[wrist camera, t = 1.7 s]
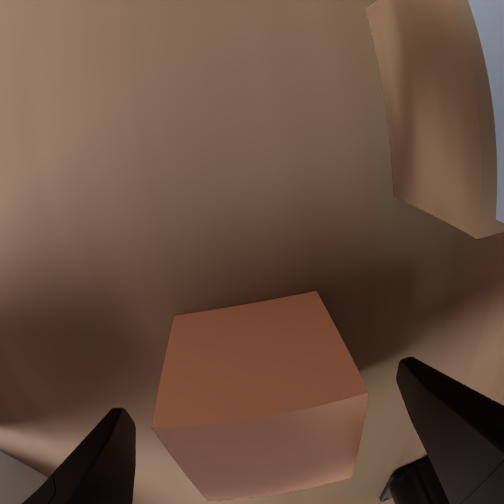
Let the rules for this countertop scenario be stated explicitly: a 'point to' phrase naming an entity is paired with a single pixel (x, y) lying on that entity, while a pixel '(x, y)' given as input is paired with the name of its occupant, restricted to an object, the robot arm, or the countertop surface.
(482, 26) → the slate-blue block
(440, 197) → the walnut block
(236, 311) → the terracotta block
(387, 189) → the countertop surface
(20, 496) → the lumpy-topped squat cylinder
